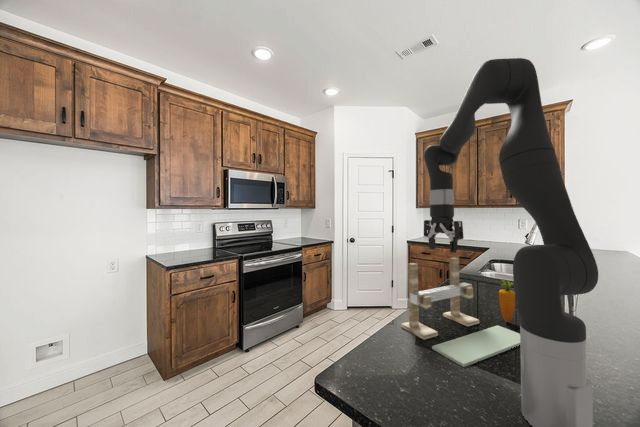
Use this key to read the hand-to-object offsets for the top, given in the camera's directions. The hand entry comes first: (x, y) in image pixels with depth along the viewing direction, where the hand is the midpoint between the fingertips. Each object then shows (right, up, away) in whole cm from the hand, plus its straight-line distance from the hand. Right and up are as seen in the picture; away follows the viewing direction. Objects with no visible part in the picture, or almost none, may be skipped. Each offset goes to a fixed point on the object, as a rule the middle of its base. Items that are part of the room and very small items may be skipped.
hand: (442, 250), depth 90 cm
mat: (+6, -26, -13) cm, 29 cm away
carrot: (+24, -26, +2) cm, 35 cm away
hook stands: (0, -26, 0) cm, 26 cm away
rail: (0, -16, 0) cm, 16 cm away
